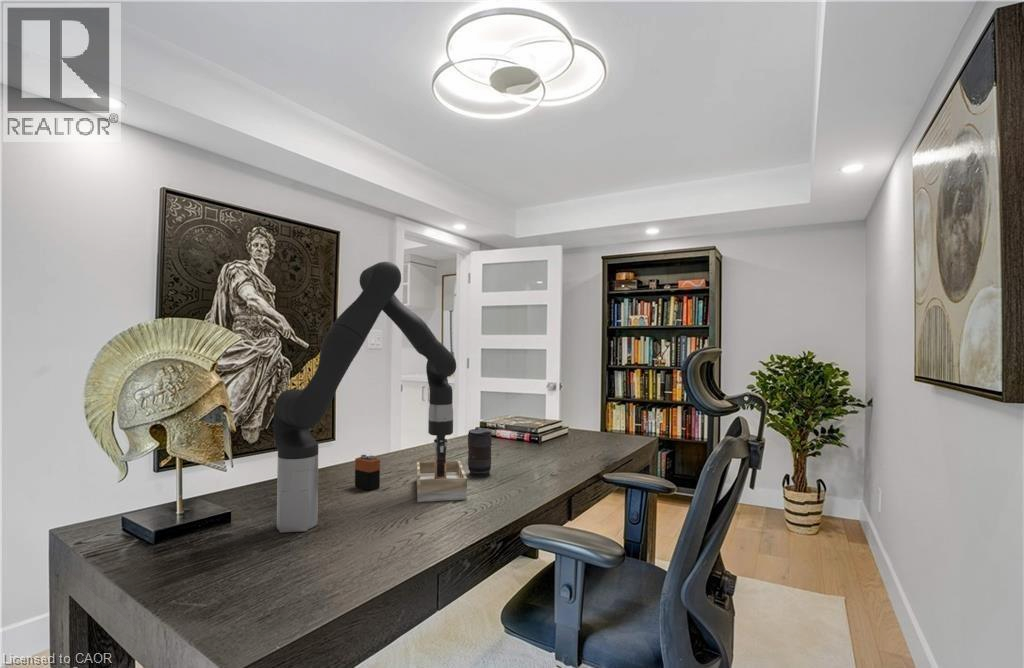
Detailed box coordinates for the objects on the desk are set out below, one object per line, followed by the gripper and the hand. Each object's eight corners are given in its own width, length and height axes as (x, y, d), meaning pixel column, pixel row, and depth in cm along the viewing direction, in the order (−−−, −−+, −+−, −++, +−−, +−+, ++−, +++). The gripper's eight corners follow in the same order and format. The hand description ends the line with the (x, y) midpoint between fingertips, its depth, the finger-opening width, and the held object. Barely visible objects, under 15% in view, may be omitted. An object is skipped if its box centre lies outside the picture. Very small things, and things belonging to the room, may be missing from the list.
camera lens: (462, 475, 173) (463, 430, 173) (477, 470, 180) (477, 427, 180) (481, 479, 169) (481, 433, 169) (496, 474, 175) (496, 430, 175)
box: (466, 499, 147) (466, 478, 147) (417, 501, 145) (417, 480, 145) (459, 478, 169) (460, 460, 169) (416, 480, 166) (416, 461, 166)
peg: (446, 480, 156) (447, 450, 156) (434, 480, 155) (435, 451, 155) (445, 477, 159) (446, 448, 159) (434, 477, 158) (434, 448, 158)
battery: (369, 491, 154) (369, 458, 154) (354, 487, 158) (354, 455, 158) (380, 488, 158) (380, 455, 158) (365, 484, 161) (365, 452, 161)
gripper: (455, 421, 151) (454, 480, 151) (451, 414, 165) (450, 468, 165) (429, 422, 149) (428, 481, 149) (427, 415, 163) (427, 469, 163)
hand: (440, 474), depth 157 cm, fingers closed on peg, 3 cm apart
